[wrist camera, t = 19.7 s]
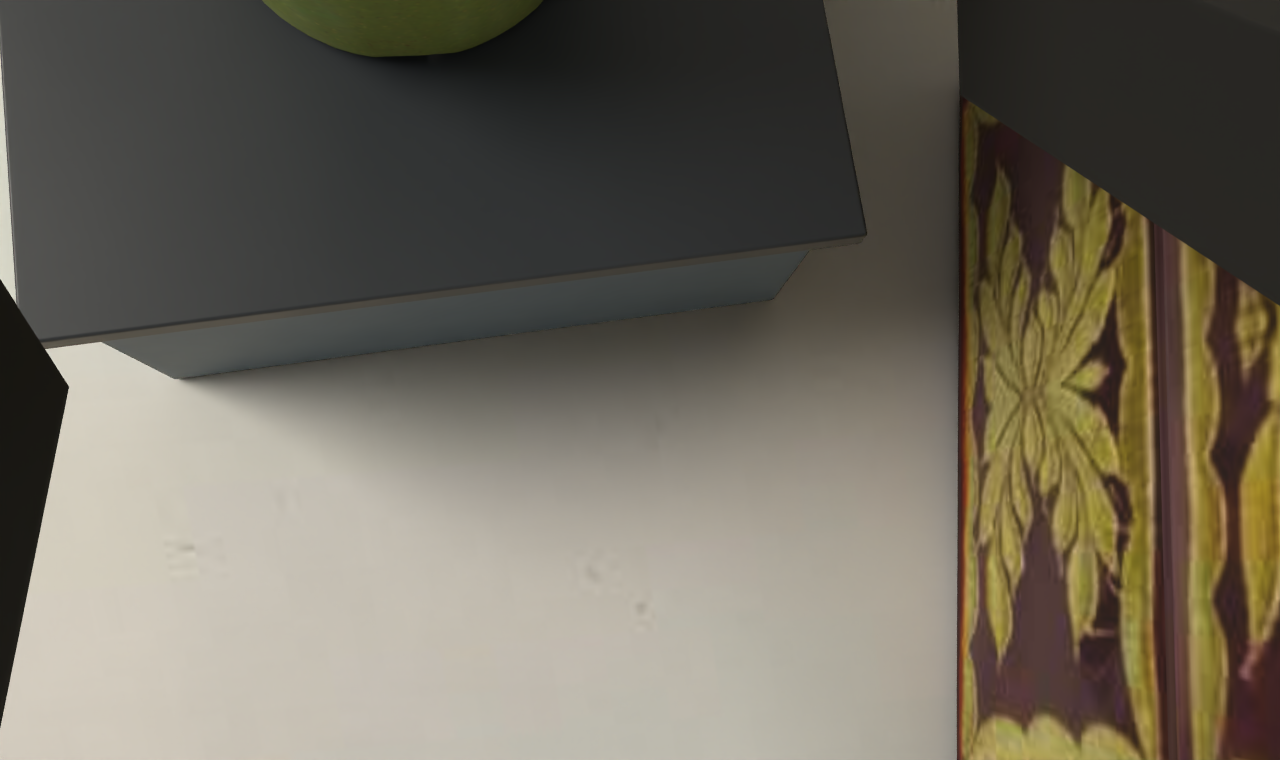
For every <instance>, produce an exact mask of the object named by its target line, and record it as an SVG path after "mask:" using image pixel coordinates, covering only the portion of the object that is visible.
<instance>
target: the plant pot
mask: <svg viewBox="0 0 1280 760" xmlns="http://www.w3.org/2000/svg"><path fill="white" fill-rule="evenodd" d="M262 1H263V2H264V3H265V4H266V5H267V6H268V7H269V8H270V9H272V10H273V11H274V12H275V13H276V14H277V15H278V16H279V17H281V18H282V19H284V20H285V21H286V22H288V23H289V24H291V25H292V26H294V27H295V28H297V29H298V30H300V31H302V32H303V33H305V34H307V35H308V36H310V37H312V38H314V39H317V40H319V41H321V42H323V43H325V44H327V45H330V46H332V47H334V48H337V49H340V50H344V51H347V52H350V53H354V54H359V55H364V56H370V57H385V56H419V55H431V54H445V53H456V52H460V51H463V50H467V49H470V48H473V47H475V46H477V45H480V44H482V43H484V42H487V41H489V40H490V39H492V38H494V37H496V36H498V35H500V34H502V33H503V32H505V31H507V30H508V29H510V28H511V27H513V26H515V25H516V24H517V23H519V22H520V21H521V20H523V19H524V18H525V17H526V16H528V15H529V14H530V13H531V12H532V11H534V10H535V9H536V8H537V7H538V6H539V5H540V4H541V2H542V1H543V0H262Z"/></svg>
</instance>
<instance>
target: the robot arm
mask: <svg viewBox="0 0 1280 760" xmlns="http://www.w3.org/2000/svg"><path fill="white" fill-rule="evenodd" d="M957 12H958V48H959V85H960V95H961V96H962V97H964V98H965V99H967V100H968V101H970V102H971V103H973V104H974V105H976V106H977V107H979V108H980V109H982V110H983V111H985V112H986V113H988V114H990V115H991V116H993V117H994V118H996V119H997V120H999V121H1000V122H1002V123H1003V124H1005V125H1006V126H1008V127H1009V128H1011V129H1012V130H1014V131H1015V132H1017V133H1018V134H1020V135H1021V136H1023V137H1024V138H1026V139H1027V140H1029V141H1030V142H1032V143H1033V144H1035V145H1036V146H1038V147H1040V148H1041V149H1043V150H1044V151H1046V152H1047V153H1049V154H1050V155H1052V156H1053V157H1055V158H1056V159H1058V160H1059V161H1061V162H1062V163H1064V164H1065V165H1067V166H1068V167H1070V168H1071V169H1073V170H1074V171H1076V172H1077V173H1079V174H1080V175H1082V176H1083V177H1085V178H1087V179H1088V180H1090V181H1091V182H1093V183H1094V184H1096V185H1097V186H1099V187H1100V188H1102V189H1103V190H1105V191H1106V192H1108V193H1109V194H1111V195H1112V196H1114V197H1115V198H1117V199H1118V200H1120V201H1121V202H1123V203H1124V204H1126V205H1127V206H1129V207H1130V208H1132V209H1133V210H1135V211H1137V212H1138V213H1140V214H1141V215H1143V216H1144V217H1146V218H1147V219H1149V220H1150V221H1152V222H1153V223H1155V224H1156V225H1158V226H1159V227H1161V228H1162V229H1164V230H1165V231H1167V232H1168V233H1170V234H1171V235H1173V236H1174V237H1176V238H1177V239H1179V240H1180V241H1182V242H1183V243H1185V244H1187V245H1188V246H1190V247H1191V248H1193V249H1194V250H1196V251H1197V252H1199V253H1200V254H1202V255H1203V256H1205V257H1206V258H1208V259H1209V260H1211V261H1212V262H1214V263H1215V264H1217V265H1218V266H1220V267H1221V268H1223V269H1224V270H1226V271H1227V272H1229V273H1230V274H1232V275H1233V276H1235V277H1237V278H1238V279H1240V280H1241V281H1243V282H1244V283H1246V284H1247V285H1249V286H1250V287H1252V288H1253V289H1255V290H1256V291H1258V292H1259V293H1261V294H1262V295H1264V296H1265V297H1267V298H1268V299H1270V300H1271V301H1273V302H1274V303H1276V304H1277V305H1279V306H1280V0H957ZM68 389H69V386H68V385H67V383H66V381H65V380H64V378H63V377H62V375H61V374H60V372H59V371H58V369H57V367H56V366H55V364H54V363H53V361H52V360H51V358H50V356H49V355H48V353H47V352H46V350H45V349H44V347H43V345H42V344H41V342H40V341H39V339H38V338H37V336H36V334H35V333H34V331H33V330H32V328H31V327H30V325H29V324H28V322H27V320H26V319H25V317H24V316H23V314H22V313H21V311H20V309H19V308H18V306H17V305H16V303H15V302H14V300H13V298H12V297H11V295H10V294H9V292H8V291H7V289H6V287H5V286H4V284H3V283H2V281H1V280H0V726H1V721H2V716H3V711H4V706H5V702H6V697H7V692H8V687H9V682H10V677H11V672H12V667H13V662H14V657H15V652H16V647H17V642H18V637H19V632H20V627H21V622H22V617H23V612H24V607H25V602H26V597H27V592H28V587H29V582H30V577H31V573H32V568H33V563H34V558H35V553H36V548H37V543H38V538H39V533H40V528H41V523H42V518H43V513H44V508H45V503H46V498H47V493H48V488H49V483H50V478H51V473H52V468H53V463H54V458H55V453H56V448H57V443H58V439H59V434H60V429H61V424H62V419H63V414H64V409H65V404H66V399H67V394H68Z"/></svg>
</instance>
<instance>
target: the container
mask: <svg viewBox="0 0 1280 760" xmlns="http://www.w3.org/2000/svg"><path fill="white" fill-rule="evenodd" d="M0 54H1V69H2V85H3V101H4V116H5V132H6V147H7V163H8V178H9V194H10V210H11V225H12V241H13V256H14V272H15V288H16V303H17V306H18V308H19V309H20V311H21V313H22V314H23V316H24V317H25V319H26V320H27V322H28V324H29V325H30V327H31V328H32V330H33V331H34V333H35V334H36V336H37V338H38V339H39V341H40V342H41V344H42V345H43V347H44V349H49V348H57V347H64V346H72V345H80V344H87V343H95V342H103V343H105V344H107V345H108V346H110V347H112V348H114V349H116V350H118V351H120V352H122V353H124V354H126V355H128V356H130V357H132V358H134V359H136V360H138V361H140V362H142V363H144V364H146V365H148V366H150V367H152V368H154V369H156V370H158V371H160V372H162V373H164V374H166V375H167V376H169V377H171V378H174V379H180V378H187V377H195V376H202V375H210V374H217V373H225V372H232V371H240V370H247V369H255V368H262V367H270V366H277V365H285V364H292V363H300V362H307V361H315V360H322V359H330V358H337V357H345V356H352V355H360V354H367V353H375V352H383V351H390V350H398V349H405V348H413V347H420V346H428V345H435V344H443V343H450V342H458V341H465V340H473V339H480V338H488V337H495V336H503V335H510V334H518V333H525V332H533V331H540V330H548V329H555V328H563V327H570V326H578V325H585V324H593V323H600V322H608V321H615V320H623V319H630V318H638V317H645V316H653V315H660V314H668V313H675V312H683V311H690V310H698V309H705V308H713V307H720V306H728V305H735V304H743V303H750V302H758V301H765V300H772V299H773V298H774V297H775V296H776V294H777V293H778V292H779V290H780V289H781V288H782V286H783V285H784V284H785V282H786V281H787V280H788V279H789V277H790V276H791V275H792V273H793V272H794V271H795V269H796V268H797V267H798V265H799V264H800V263H801V261H802V260H803V259H804V257H805V256H806V255H807V253H808V252H809V251H810V250H813V249H821V248H828V247H836V246H844V245H851V244H858V243H860V242H861V241H862V240H863V239H864V238H865V237H866V236H867V229H866V224H865V219H864V213H863V208H862V203H861V198H860V192H859V187H858V182H857V176H856V171H855V166H854V161H853V155H852V150H851V145H850V140H849V134H848V129H847V124H846V118H845V113H844V108H843V103H842V97H841V92H840V87H839V82H838V76H837V71H836V66H835V60H834V55H833V50H832V45H831V39H830V34H829V29H828V24H827V18H826V13H825V8H824V3H823V0H543V1H542V2H541V4H540V5H539V6H538V7H537V8H536V9H535V10H534V11H532V12H531V13H530V14H529V15H528V16H526V17H525V18H524V19H523V20H521V21H520V22H519V23H517V24H516V25H515V26H513V27H511V28H510V29H508V30H507V31H505V32H503V33H502V34H500V35H498V36H496V37H494V38H492V39H490V40H489V41H487V42H484V43H482V44H480V45H477V46H475V47H473V48H470V49H467V50H463V51H460V52H456V53H445V54H431V55H419V56H385V57H370V56H364V55H359V54H354V53H350V52H347V51H344V50H340V49H337V48H334V47H332V46H330V45H327V44H325V43H323V42H321V41H319V40H317V39H314V38H312V37H310V36H308V35H307V34H305V33H303V32H302V31H300V30H298V29H297V28H295V27H294V26H292V25H291V24H289V23H288V22H286V21H285V20H284V19H282V18H281V17H279V16H278V15H277V14H276V13H275V12H274V11H273V10H272V9H270V8H269V7H268V6H267V5H266V4H265V3H264V2H263V1H262V0H0Z"/></svg>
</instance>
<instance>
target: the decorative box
mask: <svg viewBox="0 0 1280 760" xmlns="http://www.w3.org/2000/svg"><path fill="white" fill-rule="evenodd" d="M957 760H1280V306H1279V305H1277V304H1276V303H1274V302H1273V301H1271V300H1270V299H1268V298H1267V297H1265V296H1264V295H1262V294H1261V293H1259V292H1258V291H1256V290H1255V289H1253V288H1252V287H1250V286H1249V285H1247V284H1246V283H1244V282H1243V281H1241V280H1240V279H1238V278H1237V277H1235V276H1233V275H1232V274H1230V273H1229V272H1227V271H1226V270H1224V269H1223V268H1221V267H1220V266H1218V265H1217V264H1215V263H1214V262H1212V261H1211V260H1209V259H1208V258H1206V257H1205V256H1203V255H1202V254H1200V253H1199V252H1197V251H1196V250H1194V249H1193V248H1191V247H1190V246H1188V245H1187V244H1185V243H1183V242H1182V241H1180V240H1179V239H1177V238H1176V237H1174V236H1173V235H1171V234H1170V233H1168V232H1167V231H1165V230H1164V229H1162V228H1161V227H1159V226H1158V225H1156V224H1155V223H1153V222H1152V221H1150V220H1149V219H1147V218H1146V217H1144V216H1143V215H1141V214H1140V213H1138V212H1137V211H1135V210H1133V209H1132V208H1130V207H1129V206H1127V205H1126V204H1124V203H1123V202H1121V201H1120V200H1118V199H1117V198H1115V197H1114V196H1112V195H1111V194H1109V193H1108V192H1106V191H1105V190H1103V189H1102V188H1100V187H1099V186H1097V185H1096V184H1094V183H1093V182H1091V181H1090V180H1088V179H1087V178H1085V177H1083V176H1082V175H1080V174H1079V173H1077V172H1076V171H1074V170H1073V169H1071V168H1070V167H1068V166H1067V165H1065V164H1064V163H1062V162H1061V161H1059V160H1058V159H1056V158H1055V157H1053V156H1052V155H1050V154H1049V153H1047V152H1046V151H1044V150H1043V149H1041V148H1040V147H1038V146H1036V145H1035V144H1033V143H1032V142H1030V141H1029V140H1027V139H1026V138H1024V137H1023V136H1021V135H1020V134H1018V133H1017V132H1015V131H1014V130H1012V129H1011V128H1009V127H1008V126H1006V125H1005V124H1003V123H1002V122H1000V121H999V120H997V119H996V118H994V117H993V116H991V115H990V114H988V113H986V112H985V111H983V110H982V109H980V108H979V107H977V106H976V105H974V104H973V103H971V102H970V101H968V100H967V99H965V98H964V97H962V96H961V95H960V133H959V334H958V571H957Z"/></svg>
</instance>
